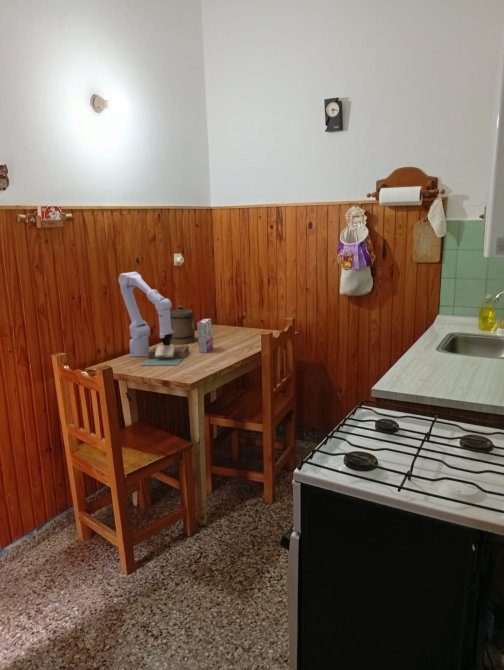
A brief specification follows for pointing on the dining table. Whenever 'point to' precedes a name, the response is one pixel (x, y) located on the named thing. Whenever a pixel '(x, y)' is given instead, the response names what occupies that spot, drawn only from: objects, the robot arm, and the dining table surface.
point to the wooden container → (182, 326)
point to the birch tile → (164, 351)
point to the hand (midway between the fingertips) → (167, 348)
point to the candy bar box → (205, 335)
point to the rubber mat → (162, 362)
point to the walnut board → (179, 353)
